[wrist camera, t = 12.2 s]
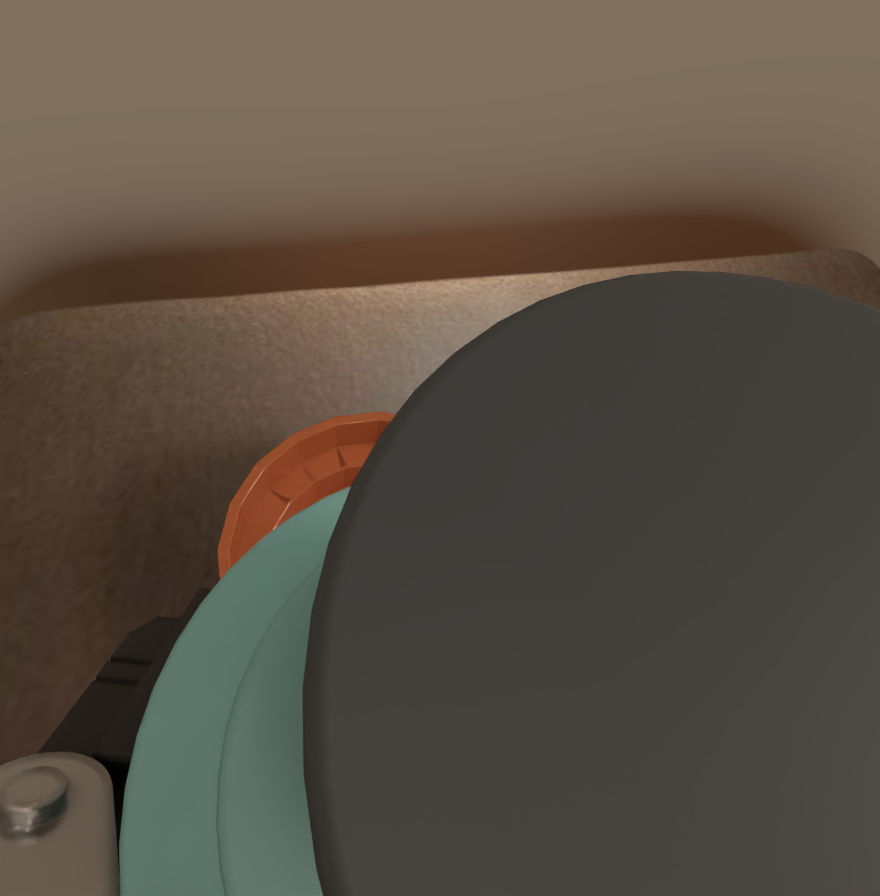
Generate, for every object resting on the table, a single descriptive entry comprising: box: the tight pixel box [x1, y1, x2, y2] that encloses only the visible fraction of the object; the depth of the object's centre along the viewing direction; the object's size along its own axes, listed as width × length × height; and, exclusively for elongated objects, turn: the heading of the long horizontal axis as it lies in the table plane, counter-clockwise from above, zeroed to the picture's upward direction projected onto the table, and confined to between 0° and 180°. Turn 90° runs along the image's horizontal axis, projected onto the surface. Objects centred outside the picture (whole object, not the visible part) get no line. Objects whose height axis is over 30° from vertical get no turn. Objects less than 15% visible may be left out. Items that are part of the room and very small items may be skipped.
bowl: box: [217, 412, 396, 581], centre depth 32 cm, size 14×14×5 cm
